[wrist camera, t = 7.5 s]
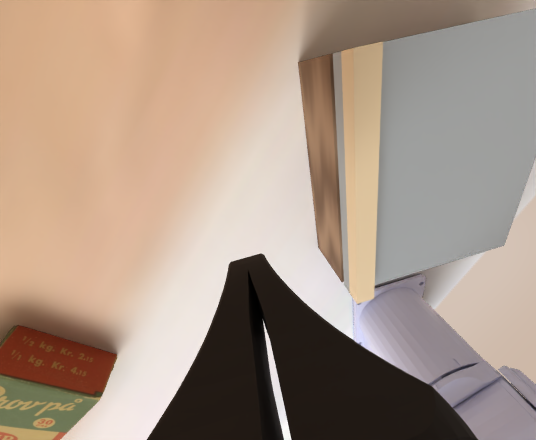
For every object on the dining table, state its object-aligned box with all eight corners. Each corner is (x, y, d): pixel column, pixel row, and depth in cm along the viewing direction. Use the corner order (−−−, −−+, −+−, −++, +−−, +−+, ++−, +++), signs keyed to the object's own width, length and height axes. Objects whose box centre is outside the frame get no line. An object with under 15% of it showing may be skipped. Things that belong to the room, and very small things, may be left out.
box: (441, 212, 23) (489, 237, 19) (318, 247, 22) (341, 282, 18) (476, 23, 16) (562, 3, 12) (298, 62, 15) (329, 54, 11)
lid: (493, 239, 19) (518, 253, 17) (344, 284, 18) (357, 303, 16) (570, 1, 12) (624, -12, 10) (332, 53, 11) (353, 47, 9)
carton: (-65, 424, 23) (-117, 489, 19) (18, 318, 20) (-26, 372, 16) (36, 438, 27) (8, 495, 23) (120, 351, 23) (103, 401, 20)
